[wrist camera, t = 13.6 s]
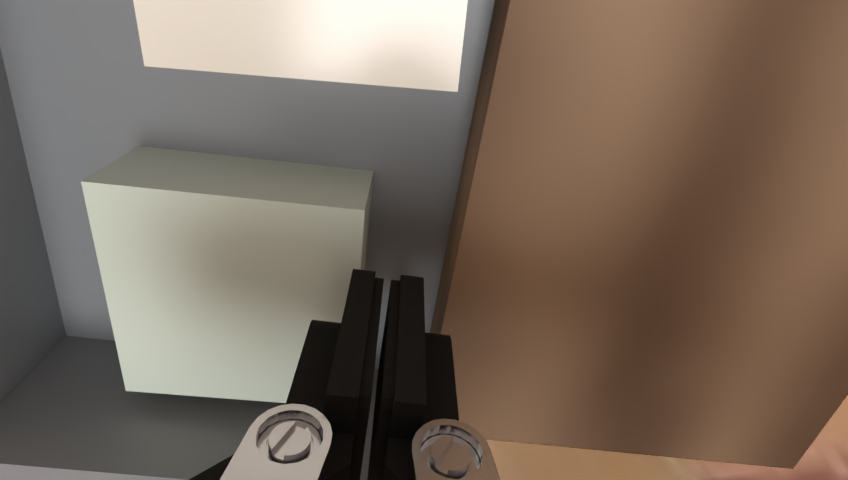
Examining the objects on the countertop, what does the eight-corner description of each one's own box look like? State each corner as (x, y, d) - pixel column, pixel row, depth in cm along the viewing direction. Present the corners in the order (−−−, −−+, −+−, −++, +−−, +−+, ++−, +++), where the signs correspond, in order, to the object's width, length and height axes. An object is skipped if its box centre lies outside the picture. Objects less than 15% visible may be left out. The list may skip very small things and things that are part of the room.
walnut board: (1248, -399, 9) (1524, -524, 7) (747, 408, 18) (793, 468, 16) (602, -573, 8) (673, -784, 6) (419, 374, 17) (419, 432, 15)
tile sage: (373, 170, 13) (364, 210, 11) (360, 348, 16) (350, 408, 14) (138, 145, 13) (80, 181, 11) (167, 332, 16) (125, 390, 13)
